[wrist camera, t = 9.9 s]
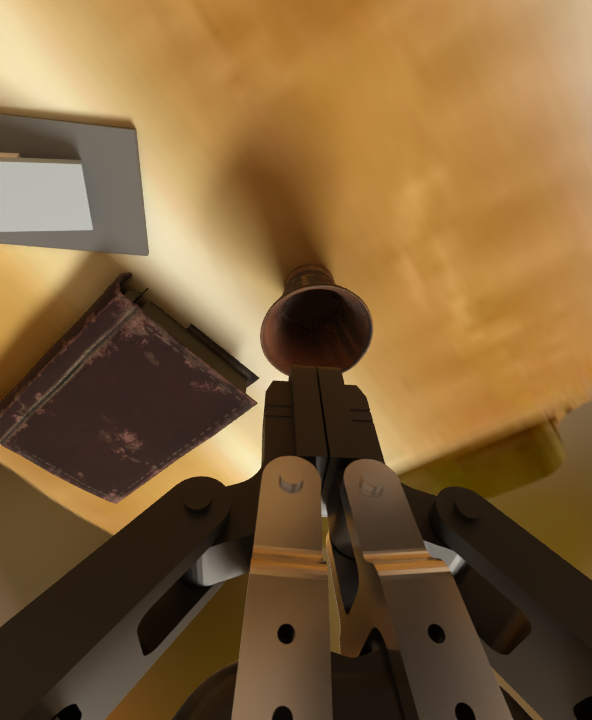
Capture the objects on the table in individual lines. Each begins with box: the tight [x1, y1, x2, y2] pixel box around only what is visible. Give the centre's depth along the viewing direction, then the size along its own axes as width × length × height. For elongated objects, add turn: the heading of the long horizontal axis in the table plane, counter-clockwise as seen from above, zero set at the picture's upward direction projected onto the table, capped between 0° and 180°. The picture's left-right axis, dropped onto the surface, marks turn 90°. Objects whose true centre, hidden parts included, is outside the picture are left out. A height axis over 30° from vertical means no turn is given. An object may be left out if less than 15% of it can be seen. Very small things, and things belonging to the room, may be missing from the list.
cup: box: [260, 265, 373, 376], centre depth 36 cm, size 9×9×10 cm
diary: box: [0, 273, 259, 504], centre depth 45 cm, size 19×25×5 cm
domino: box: [0, 157, 93, 232], centre depth 31 cm, size 5×2×10 cm
